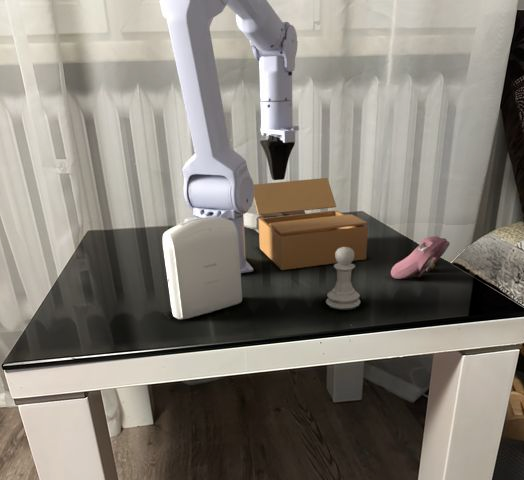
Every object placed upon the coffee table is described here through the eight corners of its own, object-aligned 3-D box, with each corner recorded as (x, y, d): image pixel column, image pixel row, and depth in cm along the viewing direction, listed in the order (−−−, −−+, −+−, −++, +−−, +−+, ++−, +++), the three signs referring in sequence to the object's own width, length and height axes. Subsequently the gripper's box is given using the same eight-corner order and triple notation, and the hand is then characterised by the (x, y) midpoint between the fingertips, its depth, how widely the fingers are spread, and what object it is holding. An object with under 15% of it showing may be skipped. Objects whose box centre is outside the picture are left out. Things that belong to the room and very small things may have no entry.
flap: (250, 184, 98) (250, 185, 98) (258, 214, 96) (258, 215, 96) (327, 177, 101) (327, 178, 101) (336, 206, 99) (336, 207, 100)
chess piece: (350, 295, 77) (352, 240, 73) (366, 306, 73) (370, 249, 69) (320, 300, 76) (320, 244, 72) (335, 312, 72) (337, 254, 68)
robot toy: (289, 221, 119) (227, 226, 113) (290, 200, 117) (227, 204, 111) (319, 233, 109) (253, 239, 103) (321, 210, 107) (253, 215, 101)
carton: (281, 270, 88) (280, 232, 85) (259, 248, 99) (258, 214, 96) (366, 259, 91) (368, 222, 88) (335, 239, 102) (336, 206, 99)
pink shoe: (410, 293, 81) (435, 256, 76) (386, 275, 82) (409, 237, 77) (435, 274, 88) (460, 239, 83) (412, 258, 89) (435, 222, 84)
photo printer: (180, 323, 70) (169, 229, 65) (166, 313, 74) (155, 222, 68) (247, 304, 75) (242, 215, 69) (231, 295, 78) (226, 209, 73)
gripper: (311, 101, 91) (311, 183, 97) (284, 98, 104) (286, 171, 110) (272, 103, 90) (274, 187, 96) (249, 100, 102) (252, 174, 108)
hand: (278, 179), depth 103 cm, fingers closed
